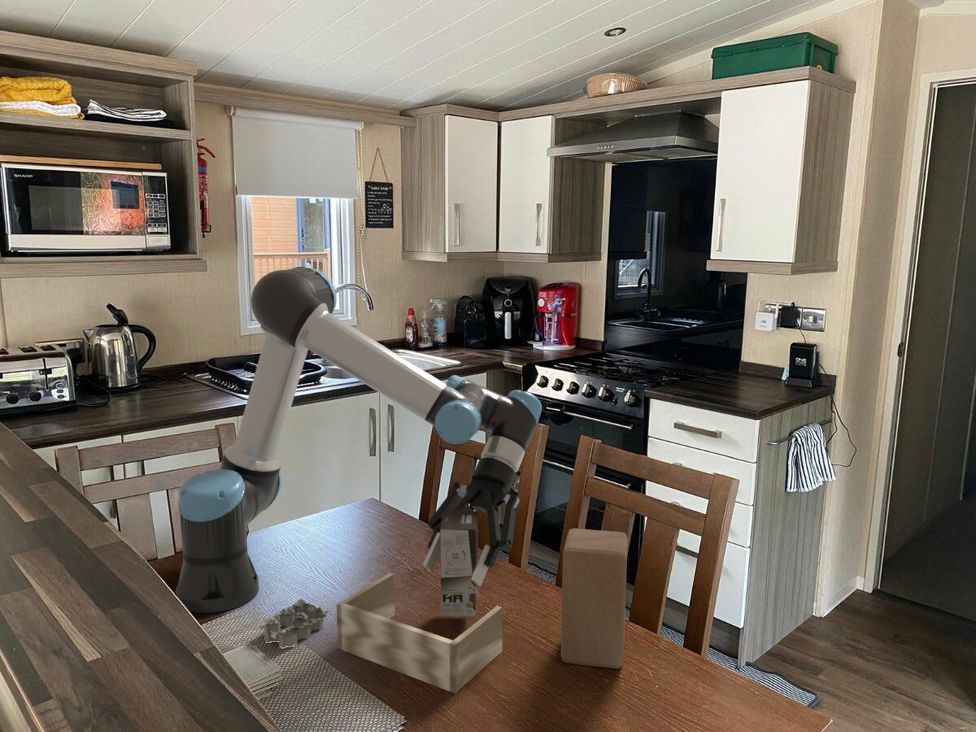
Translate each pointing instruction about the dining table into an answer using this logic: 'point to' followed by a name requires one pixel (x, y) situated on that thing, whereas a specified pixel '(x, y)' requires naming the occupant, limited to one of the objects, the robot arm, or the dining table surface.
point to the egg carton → (286, 618)
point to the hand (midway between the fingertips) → (451, 575)
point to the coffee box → (458, 563)
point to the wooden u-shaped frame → (414, 639)
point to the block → (593, 598)
